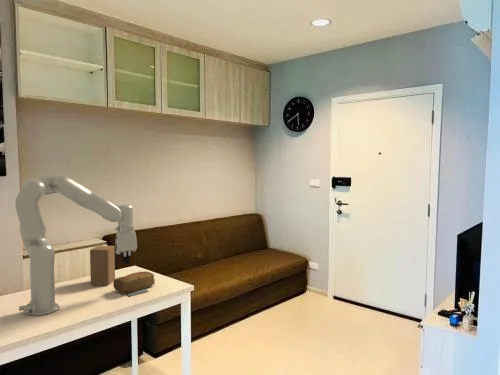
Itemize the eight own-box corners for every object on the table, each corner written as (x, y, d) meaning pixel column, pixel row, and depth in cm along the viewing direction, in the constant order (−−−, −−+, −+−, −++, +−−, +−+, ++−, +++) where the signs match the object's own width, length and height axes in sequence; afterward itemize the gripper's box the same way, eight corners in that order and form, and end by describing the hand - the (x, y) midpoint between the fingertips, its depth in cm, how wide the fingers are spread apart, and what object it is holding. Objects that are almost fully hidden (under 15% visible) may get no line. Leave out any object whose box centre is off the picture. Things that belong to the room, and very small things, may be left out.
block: (124, 295, 184) (156, 285, 200) (123, 280, 184) (156, 272, 200) (112, 291, 191) (144, 282, 207) (111, 276, 191) (144, 269, 207)
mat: (129, 296, 185) (129, 295, 184) (117, 289, 195) (117, 288, 195) (148, 291, 192) (148, 290, 192) (136, 285, 202) (136, 284, 202)
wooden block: (108, 285, 200) (107, 249, 199) (90, 285, 200) (89, 249, 199) (115, 279, 210) (114, 245, 209) (98, 279, 210) (97, 245, 209)
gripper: (114, 231, 180) (115, 268, 182) (142, 227, 191) (143, 262, 192) (108, 229, 186) (109, 264, 187) (136, 225, 196) (136, 259, 198)
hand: (126, 263), depth 190 cm, fingers closed
